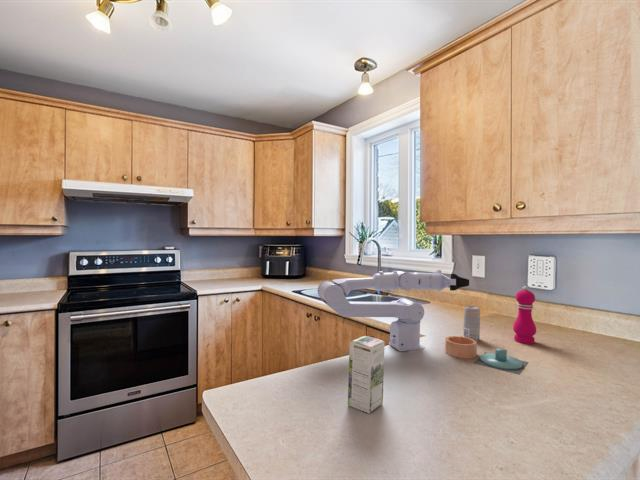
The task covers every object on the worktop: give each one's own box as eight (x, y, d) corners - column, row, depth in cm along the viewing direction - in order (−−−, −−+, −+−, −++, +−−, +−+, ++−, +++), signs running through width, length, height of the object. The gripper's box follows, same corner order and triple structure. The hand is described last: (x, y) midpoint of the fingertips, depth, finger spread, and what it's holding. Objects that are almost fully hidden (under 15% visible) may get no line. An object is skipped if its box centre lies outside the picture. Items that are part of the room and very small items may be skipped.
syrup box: (361, 396, 79) (362, 334, 79) (383, 404, 76) (385, 340, 75) (347, 405, 75) (348, 340, 75) (370, 415, 71) (371, 346, 71)
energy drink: (476, 338, 126) (477, 306, 125) (481, 343, 120) (482, 309, 120) (461, 337, 126) (462, 305, 126) (466, 342, 121) (466, 308, 120)
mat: (473, 364, 100) (473, 362, 100) (485, 353, 109) (485, 352, 109) (519, 376, 92) (519, 374, 92) (528, 363, 101) (528, 362, 101)
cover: (501, 371, 94) (501, 358, 94) (472, 357, 104) (472, 345, 104) (531, 367, 97) (532, 354, 97) (500, 354, 108) (500, 342, 108)
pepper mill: (539, 345, 119) (541, 288, 118) (516, 343, 120) (518, 287, 120) (531, 339, 126) (532, 285, 125) (509, 337, 127) (511, 284, 127)
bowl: (458, 360, 103) (458, 346, 103) (439, 350, 111) (439, 337, 111) (482, 358, 105) (483, 343, 105) (462, 348, 114) (462, 335, 114)
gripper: (438, 269, 110) (475, 270, 113) (415, 269, 124) (448, 271, 127) (438, 291, 109) (475, 292, 112) (415, 289, 123) (448, 290, 126)
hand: (461, 282), depth 119 cm, fingers open, 7 cm apart
